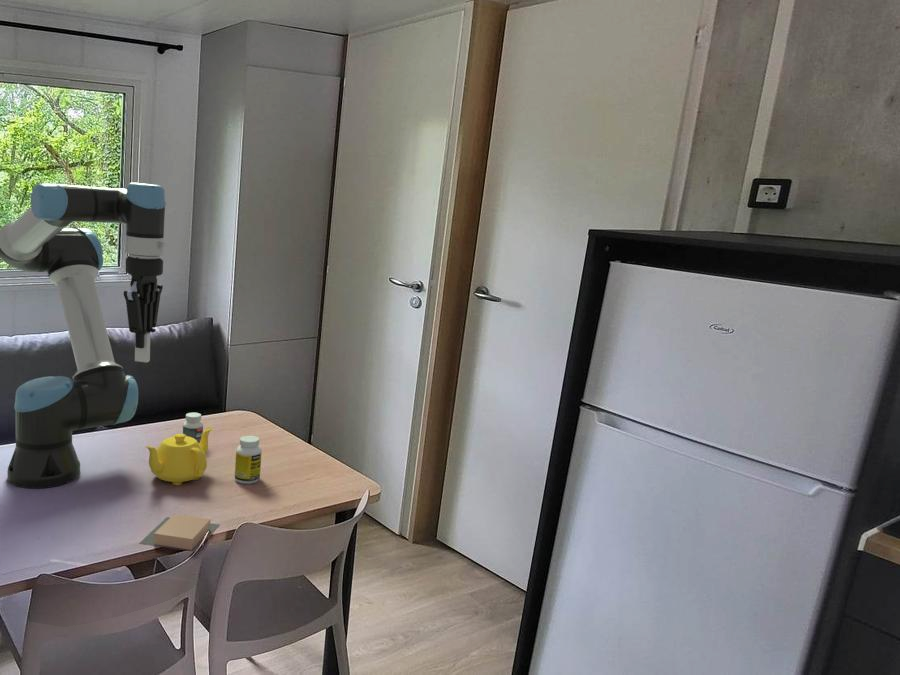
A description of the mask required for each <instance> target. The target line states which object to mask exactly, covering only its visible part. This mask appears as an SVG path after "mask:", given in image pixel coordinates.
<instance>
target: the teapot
mask: <svg viewBox="0 0 900 675" xmlns="http://www.w3.org/2000/svg"><path fill="white" fill-rule="evenodd" d="M212 430H213V426H209V427H207V428H205V429H204V430H203V434H202V437H201V440H200V443H198V442H197V441H196V440H195V439H194V438H192V437H188V436H186V435H185V434H183V433H176V434H174V436H170V437H166V438H164V439H163V440H162V442H161V443H160V444H159V445H158V447H157V448H156V447H155V446H152V445H151V446H150V445H146V446H145V448H146V449H148V451H149V458H148V466H149V468H150V471H151V472H152V474H153V475H154V476H155V477H156V478H158V479H159V480H162V481H165V482H169V483H170V482H171V483H172V485H174V486H180V485H183V482H189V481H199V480H200V479H201V477H203V476H204V474H205V473H204V472H205V471H206V470H207V467H208V463H207V462H208V461H207V457H206V455H207V453H208V449H209V434H210V432H211V431H212Z"/></svg>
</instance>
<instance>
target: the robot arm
mask: <svg viewBox="0 0 900 675" xmlns="http://www.w3.org/2000/svg"><path fill="white" fill-rule="evenodd" d="M31 191H32V192H31V193H30V207H29V208H28V209H27V210H25V212H24V213H22V215H20V217H19V218H17V220H14V221H10V222H8V223H5V224H4V225H3V226H2V227H0V259H1V260H2V262H4V263H5V264H6V265H8V266H10V267H12V268H14V269H16V270H19V271H22V272H26V273H27V272H28V273H47V276H48V279H49V281H50V282H51V284H53V285H55V286H57V288H58V292H59V297H60V301H61V305H62V310H63V313H64V318H65V321H66V326H67V331H68V335H69V339H70V344H71V348H72V353H73V356H74V360H75V364H76V365H75V366H76V371H75V374H74V375H73V376H72V379H71V378H70V377H68V376H64V375H57V376H54V375H51V376H50V375H49V376H41V377H38V378H34V379H31V380H28V381H26V382H24V383H23V384H21V385H19V386H18V387H17V389H16V392H15V400H14V405H13V408H14V412H15V413H14V414H15V416H14V419H15V420H14V421H15V448H14V451H13V453H12V457H11V459H10V462H9V464H8V467H7V482H9V484H11V485H13V486H15V487H20V488H26V489H43V488H45V489H46V488H52V487H56V486H61V485H64V484H68V483H70V482H72V481H74V480H75V479H77V478H78V477H79V476H80V474H81V463H80V460H79V458H78V454H77V451H76V449H75V447H74V445H73V444H74V443H73V432H74V431H78V430H79V431H81V430H84V429H85V430H86V429H92V428H97V427H98V428H99V427H106V426H110V425H111V426H115V425H116V424H121V423H125V422H128V421H131V420H132V418H133V417H134V416H135V414H136V411H137V409H138V408H137V407H138V404H139V388H138V384H137V381H136V379H135V377H133V375H130V374H127V375H126V374H125V371H124V368H123V366H122V365H120V364H118V363H117V362H115V358H114V353H113V350H112V345H111V342H110V339H109V335H108V334H109V333H108V330H107V329H108V328H107V326H106V321H105V318H104V314H103V308H102V306H101V301H100V298H99V294H98V289H97V286H96V282H95V280H96V278H98V277H99V273H100V272H99V271H100V270H101V269H102V268H103V266H104V256H103V255H104V248H103V247H102V246H103V245H102V242H101V241H100V238H99V237H98V235H97V234H96V233H95V232H94V231H93V230H91V229H89V228H87V227H86V228H83V227H76V226H69V225H70V224H71V223H73V222H78V223H79V222H83V223H85V222H86V223H88V222H89V223H108V224H109V223H110V224H125V226H126V227H125V236H126V237H125V254H127V255H126V257H125V272H126V274H129V275H130V276H131V279H130V283H129V284H130V288H129V289H128V290H124V291H123V298H124V299H125V303H126V304H125V305H126V313H127V314H126V315H127V322H128V329H129V330H128V331H129V332H130V333H133V334H135V336H134V337H135V338H134V339H135V340H134V362H140V363H146V364H147V363H149V362H150V360H151V333H155V332H156V327H157V323H158V322H157V320H158V315H159V309H160V308H159V307H160V301H161V295H162V292H163V289H164V286H163V285H162V284H158V278H157V277H158V276H162V275H163V274H164V273H163V272H164V259H163V257H162V256H163V255H164V248H165V246H166V244H165V242H164V241H165V240H164V237H165V236H164V235H165V212H166V210H165V209H166V205H167V204H166V198H165V196H166V194H165V188H164V187H163V186H162V185H159V184H151V183H142V182H141V183H140V182H130V183H128V185H126V188H125V187H112V188H111V187H100V186H99V187H98V186H97V187H96V186H85V185H72V184H62V183H61V184H59V183H56V182H55V183H54V182H52V183H37V184H35V185H34V186H33V187H32V190H31ZM68 226H69V227H68Z"/></svg>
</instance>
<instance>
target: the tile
mask: <svg viewBox="0 0 900 675" xmlns="http://www.w3.org/2000/svg"><path fill="white" fill-rule="evenodd" d="M211 522H212V521H211V519H210V518H204V517H199V516H192V515H184V514H183V515H182V514H178V513H177V514H176V513H174V514H173V515H172V516H171V517H170V519H169V520H168V521H167V522H166V523H165V524H163V525H162V526H161V527H160V528H159V529H158V530H157V531H156V532H155V533H154V544H155V545H162V546H169V547H176V548H183V549H189V550H192V549H193V548H194V547H195V546H196V545H197V544H198V543H199V541H200V540H201V539H202V538H203V537H204V536H205V535H206V533H207V532H208V531H209V530H210V523H211Z"/></svg>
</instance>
